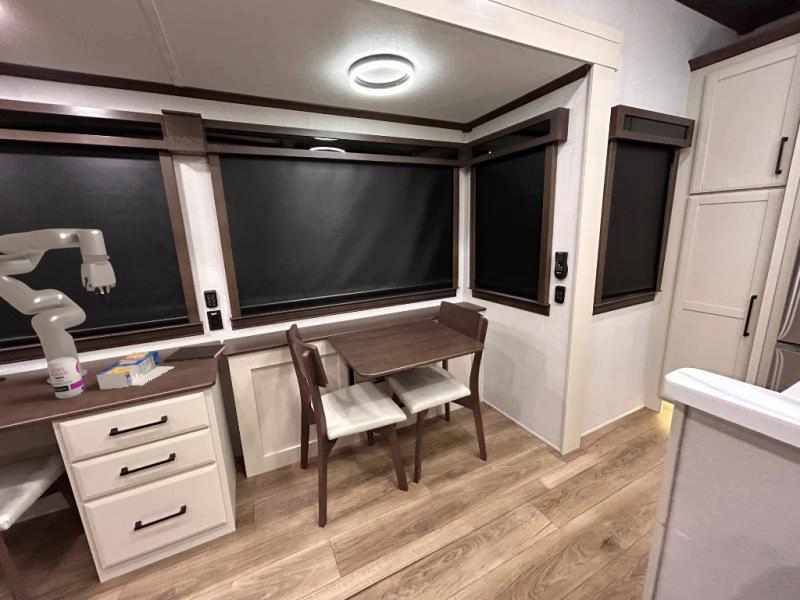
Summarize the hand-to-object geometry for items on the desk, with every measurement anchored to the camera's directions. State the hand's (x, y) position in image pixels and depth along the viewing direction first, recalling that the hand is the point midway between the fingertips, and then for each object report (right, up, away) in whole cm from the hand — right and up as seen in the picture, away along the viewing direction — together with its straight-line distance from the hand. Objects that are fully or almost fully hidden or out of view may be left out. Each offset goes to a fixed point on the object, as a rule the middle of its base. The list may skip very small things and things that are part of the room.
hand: (104, 302), depth 134 cm
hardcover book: (+19, -29, +32) cm, 47 cm away
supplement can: (-7, -38, -7) cm, 39 cm away
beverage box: (+7, -33, -4) cm, 34 cm away
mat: (+9, -34, +8) cm, 36 cm away
